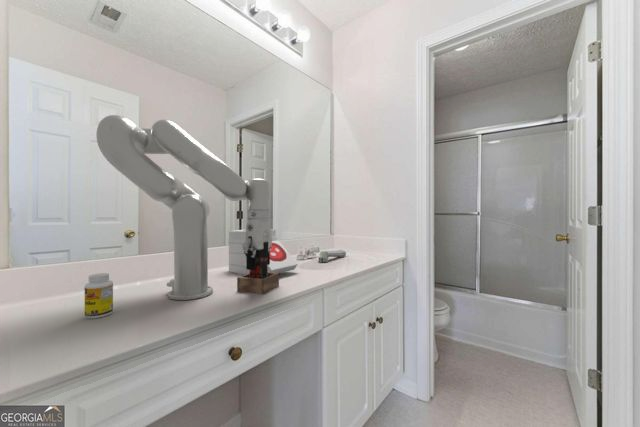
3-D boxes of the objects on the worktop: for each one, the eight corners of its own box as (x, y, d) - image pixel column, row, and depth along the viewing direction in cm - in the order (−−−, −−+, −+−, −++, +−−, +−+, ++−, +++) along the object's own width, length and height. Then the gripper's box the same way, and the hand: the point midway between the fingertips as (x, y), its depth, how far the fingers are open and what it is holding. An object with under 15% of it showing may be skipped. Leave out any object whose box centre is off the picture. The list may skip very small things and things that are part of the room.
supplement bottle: (79, 317, 66) (79, 276, 66) (104, 310, 72) (104, 271, 72) (93, 320, 64) (93, 278, 64) (118, 312, 69) (118, 273, 70)
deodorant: (248, 284, 93) (249, 240, 93) (265, 283, 95) (266, 240, 95) (250, 289, 87) (252, 242, 87) (268, 287, 90) (270, 242, 90)
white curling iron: (347, 250, 158) (324, 249, 138) (346, 261, 158) (324, 262, 137) (339, 249, 161) (316, 248, 140) (338, 260, 160) (315, 261, 140)
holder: (237, 291, 88) (237, 277, 88) (253, 283, 98) (253, 271, 98) (264, 294, 85) (264, 279, 85) (278, 285, 94) (278, 273, 94)
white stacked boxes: (267, 281, 101) (267, 233, 101) (222, 271, 120) (222, 230, 120) (301, 272, 116) (301, 230, 116) (256, 264, 135) (256, 228, 135)
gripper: (254, 215, 82) (254, 273, 82) (279, 215, 98) (280, 263, 98) (233, 215, 84) (233, 271, 84) (261, 215, 101) (262, 262, 101)
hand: (258, 266), depth 91 cm, fingers open, 8 cm apart
